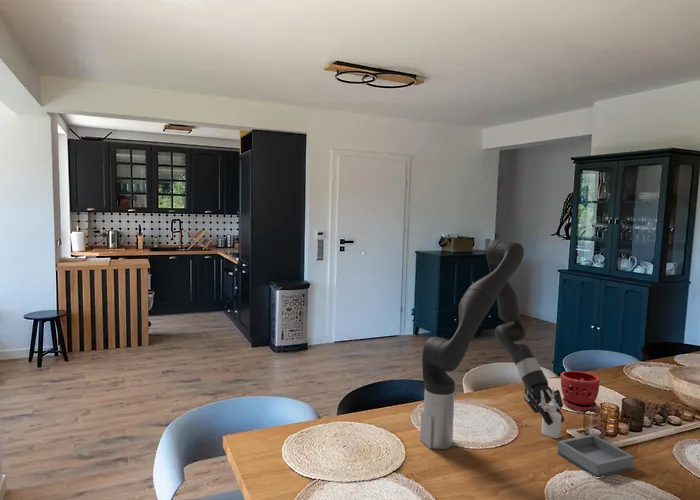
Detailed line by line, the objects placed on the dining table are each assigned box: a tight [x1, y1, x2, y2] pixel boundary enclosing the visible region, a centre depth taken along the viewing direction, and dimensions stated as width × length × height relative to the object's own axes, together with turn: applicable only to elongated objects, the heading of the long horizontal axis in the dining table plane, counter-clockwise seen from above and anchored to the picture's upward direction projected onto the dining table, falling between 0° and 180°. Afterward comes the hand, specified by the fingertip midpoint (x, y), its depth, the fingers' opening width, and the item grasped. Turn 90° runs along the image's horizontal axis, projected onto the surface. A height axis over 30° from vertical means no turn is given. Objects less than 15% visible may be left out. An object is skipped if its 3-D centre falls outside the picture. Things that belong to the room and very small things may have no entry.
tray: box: [557, 434, 635, 478], centre depth 139 cm, size 14×14×4 cm
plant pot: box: [560, 370, 600, 412], centre depth 179 cm, size 13×13×12 cm
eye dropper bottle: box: [540, 400, 562, 439], centre depth 155 cm, size 4×6×12 cm
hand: (556, 422), depth 153 cm, fingers closed on eye dropper bottle, 4 cm apart
